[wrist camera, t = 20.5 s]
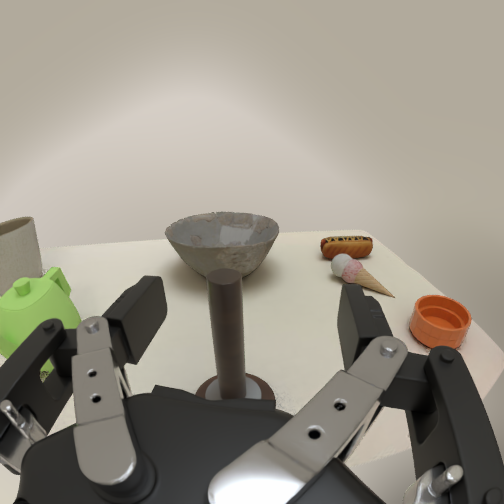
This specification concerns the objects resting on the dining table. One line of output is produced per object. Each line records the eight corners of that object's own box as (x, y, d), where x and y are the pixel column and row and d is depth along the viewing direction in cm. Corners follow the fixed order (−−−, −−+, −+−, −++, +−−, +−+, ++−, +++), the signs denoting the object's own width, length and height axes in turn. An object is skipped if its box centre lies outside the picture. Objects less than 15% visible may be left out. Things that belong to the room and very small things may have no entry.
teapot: (52, 409, 25) (5, 329, 20) (-7, 385, 25) (-46, 313, 20) (106, 321, 43) (87, 252, 38) (50, 314, 43) (30, 252, 38)
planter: (-18, 301, 44) (-38, 242, 38) (20, 271, 60) (7, 218, 54) (18, 310, 43) (-5, 241, 37) (60, 274, 59) (46, 214, 53)
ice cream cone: (390, 308, 51) (331, 270, 59) (402, 287, 50) (342, 251, 59) (387, 309, 47) (323, 269, 56) (400, 286, 46) (335, 248, 55)
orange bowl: (470, 334, 36) (479, 313, 34) (445, 362, 32) (456, 339, 30) (427, 309, 44) (433, 289, 43) (397, 330, 40) (403, 308, 38)
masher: (263, 383, 31) (265, 261, 25) (257, 424, 26) (257, 297, 20) (213, 378, 32) (198, 258, 26) (200, 417, 26) (174, 292, 20)
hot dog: (316, 254, 69) (317, 234, 67) (365, 251, 70) (367, 232, 68) (322, 262, 64) (324, 241, 62) (373, 259, 65) (376, 239, 63)
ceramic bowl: (249, 312, 47) (248, 256, 43) (149, 282, 56) (141, 235, 52) (294, 261, 65) (295, 218, 61) (208, 245, 75) (206, 208, 71)
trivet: (290, 416, 27) (291, 411, 27) (213, 448, 24) (212, 444, 23) (251, 368, 35) (251, 363, 34) (184, 390, 31) (183, 385, 31)
